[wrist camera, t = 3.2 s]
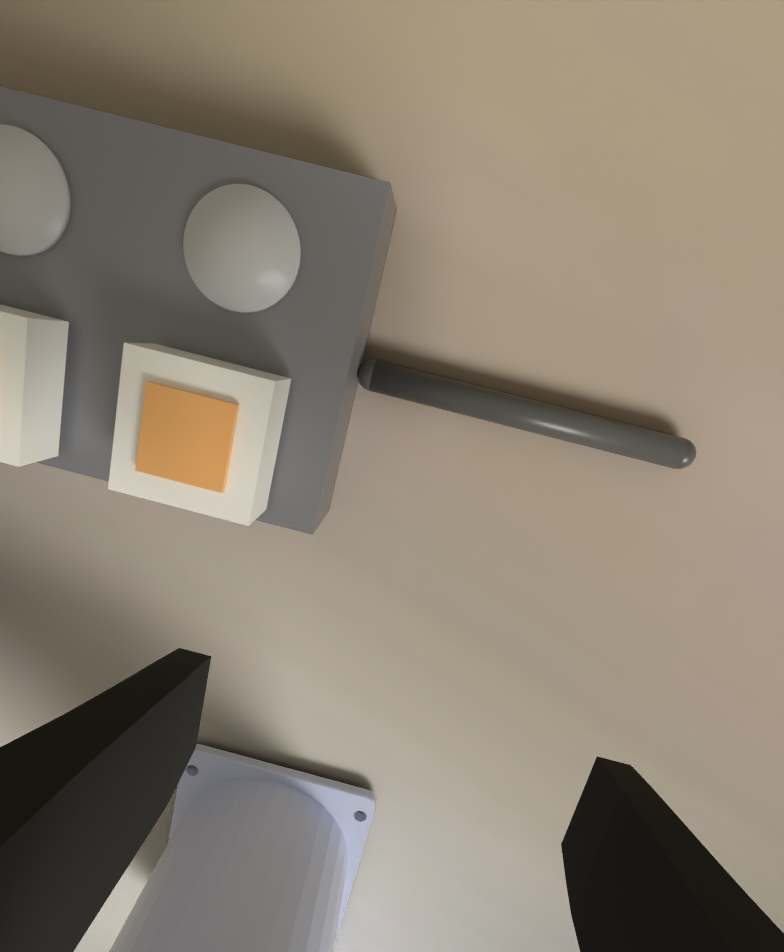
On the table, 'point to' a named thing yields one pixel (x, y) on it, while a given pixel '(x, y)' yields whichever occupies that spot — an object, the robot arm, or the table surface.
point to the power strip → (224, 287)
